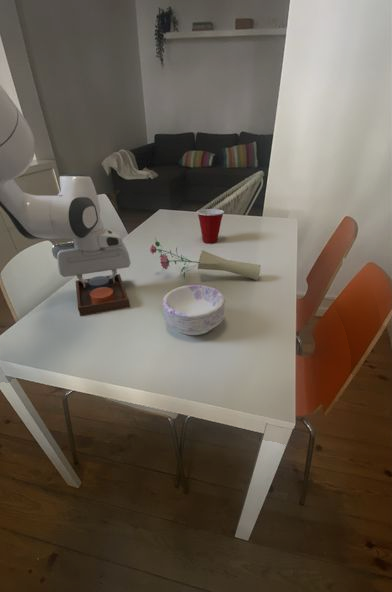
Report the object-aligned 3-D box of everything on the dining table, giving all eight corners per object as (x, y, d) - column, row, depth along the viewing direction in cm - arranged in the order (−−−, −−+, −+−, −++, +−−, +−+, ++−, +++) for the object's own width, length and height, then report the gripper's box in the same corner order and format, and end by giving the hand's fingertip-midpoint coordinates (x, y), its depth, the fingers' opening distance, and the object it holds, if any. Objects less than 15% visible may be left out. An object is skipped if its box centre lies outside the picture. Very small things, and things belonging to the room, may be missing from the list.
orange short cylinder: (91, 298, 93) (88, 289, 91) (113, 294, 95) (111, 285, 93) (93, 309, 88) (91, 299, 86) (116, 304, 90) (114, 295, 88)
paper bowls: (153, 334, 79) (150, 306, 74) (181, 305, 90) (179, 279, 85) (210, 349, 74) (210, 320, 69) (231, 316, 85) (233, 290, 80)
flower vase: (249, 304, 105) (144, 282, 101) (249, 278, 111) (151, 257, 108) (261, 278, 95) (145, 253, 92) (261, 251, 102) (153, 227, 99)
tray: (129, 307, 90) (128, 299, 88) (80, 316, 87) (77, 307, 85) (120, 281, 103) (119, 273, 101) (77, 288, 100) (75, 280, 98)
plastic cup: (223, 236, 135) (224, 206, 127) (222, 246, 126) (223, 214, 119) (198, 236, 136) (197, 206, 128) (195, 245, 127) (195, 214, 120)
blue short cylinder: (89, 286, 99) (87, 277, 97) (110, 283, 101) (108, 274, 99) (90, 296, 94) (88, 286, 92) (112, 292, 96) (110, 283, 94)
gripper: (49, 247, 83) (64, 295, 92) (127, 237, 88) (134, 283, 96) (50, 240, 88) (63, 285, 96) (124, 231, 93) (131, 275, 101)
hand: (99, 284), depth 96 cm, fingers closed on blue short cylinder, 6 cm apart
